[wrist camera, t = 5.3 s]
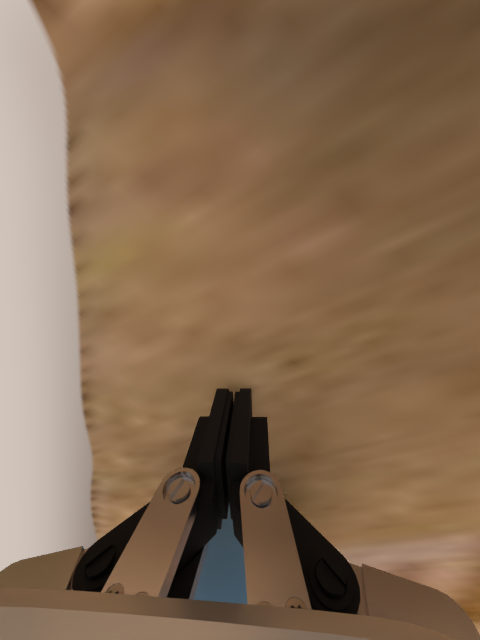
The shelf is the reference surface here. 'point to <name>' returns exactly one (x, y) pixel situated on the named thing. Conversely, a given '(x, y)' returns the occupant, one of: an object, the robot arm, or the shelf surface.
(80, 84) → the shelf surface
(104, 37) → the shelf surface
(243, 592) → the ball
